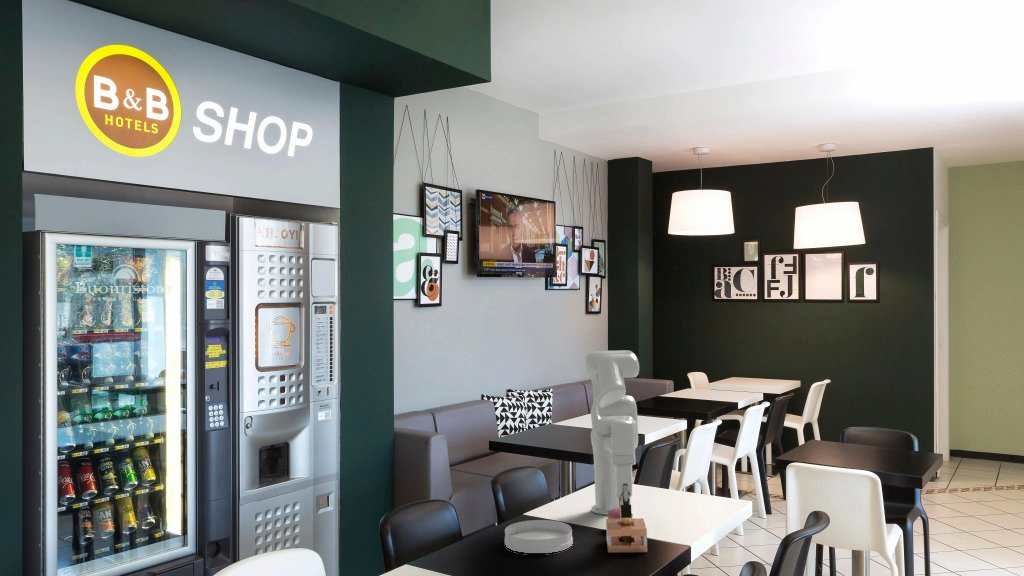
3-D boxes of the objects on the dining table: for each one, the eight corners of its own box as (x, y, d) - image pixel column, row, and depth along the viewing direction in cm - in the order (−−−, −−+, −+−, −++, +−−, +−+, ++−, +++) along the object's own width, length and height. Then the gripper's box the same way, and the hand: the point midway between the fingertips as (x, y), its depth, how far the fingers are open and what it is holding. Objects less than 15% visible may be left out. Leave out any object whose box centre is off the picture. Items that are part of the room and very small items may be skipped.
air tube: (621, 544, 244) (619, 487, 244) (631, 544, 243) (629, 487, 244) (621, 547, 241) (619, 490, 241) (632, 547, 240) (629, 490, 241)
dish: (561, 558, 233) (561, 542, 233) (494, 552, 241) (493, 536, 241) (580, 537, 254) (580, 522, 254) (518, 532, 261) (517, 517, 262)
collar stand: (606, 540, 248) (606, 518, 249) (644, 540, 247) (643, 518, 248) (608, 552, 236) (607, 529, 237) (647, 552, 235) (646, 529, 236)
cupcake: (635, 527, 262) (633, 491, 263) (630, 534, 254) (629, 497, 255) (610, 525, 265) (609, 490, 266) (605, 532, 257) (603, 496, 258)
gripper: (610, 454, 252) (612, 506, 251) (612, 464, 234) (614, 521, 234) (633, 453, 251) (635, 506, 250) (637, 464, 234) (639, 520, 233)
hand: (625, 513), depth 242 cm, fingers open, 9 cm apart
